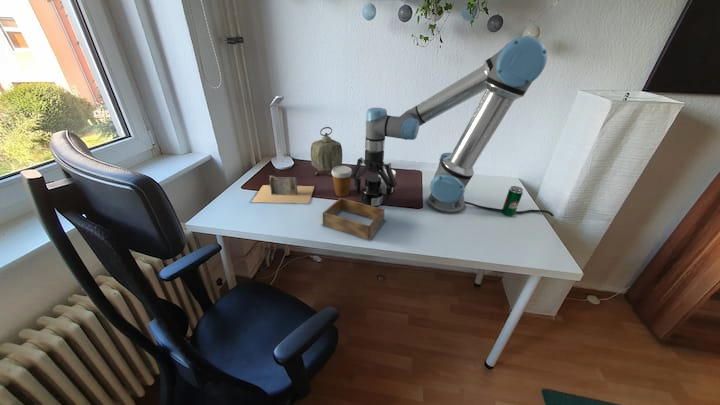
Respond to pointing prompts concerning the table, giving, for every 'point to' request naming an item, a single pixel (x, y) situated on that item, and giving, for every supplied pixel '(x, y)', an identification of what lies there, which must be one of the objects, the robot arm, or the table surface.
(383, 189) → the white cup
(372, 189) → the ink bottle
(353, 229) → the wooden box
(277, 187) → the architectural model on board
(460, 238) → the table surface
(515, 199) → the soda can
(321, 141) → the tabletop clock
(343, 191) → the disposable coffee cup
